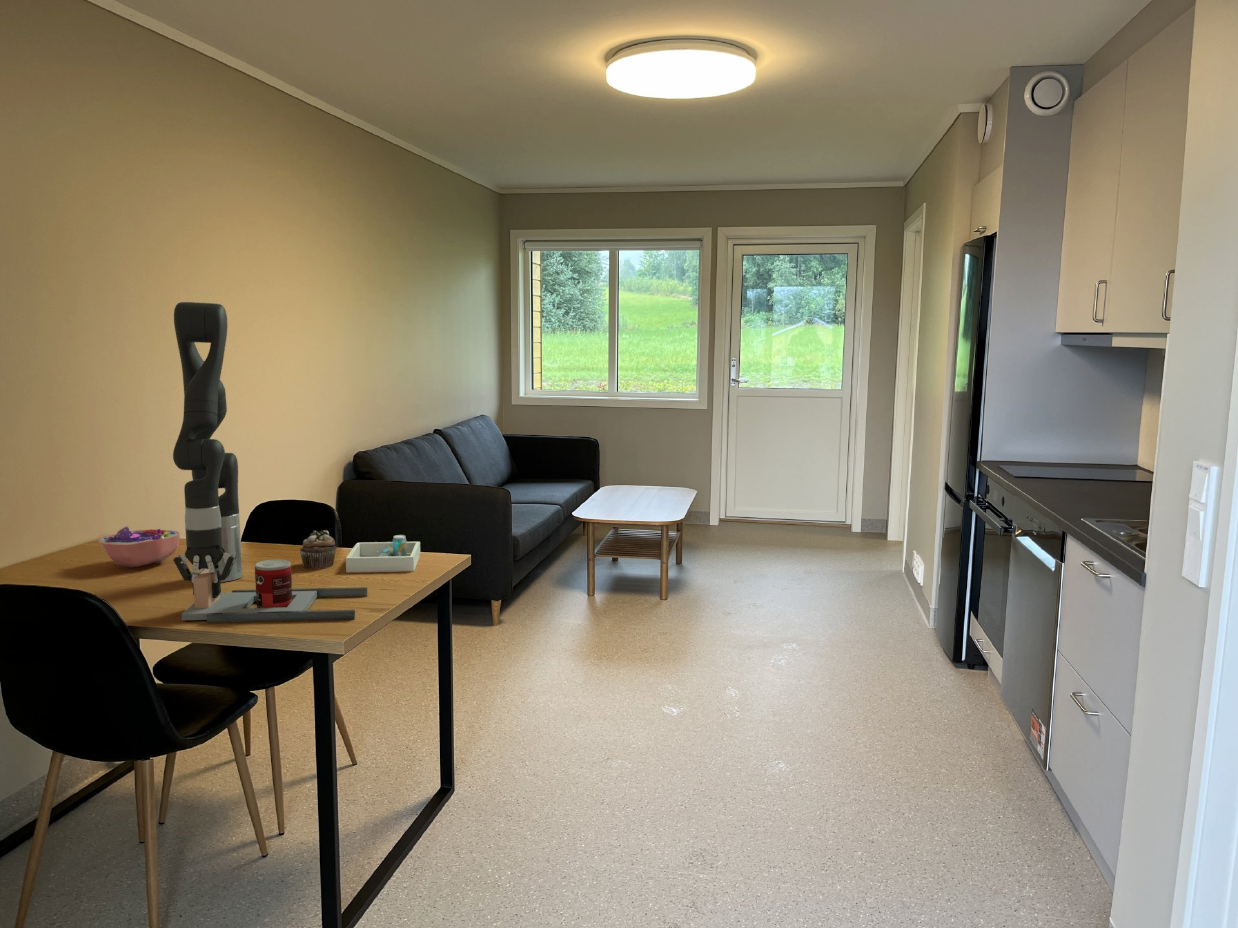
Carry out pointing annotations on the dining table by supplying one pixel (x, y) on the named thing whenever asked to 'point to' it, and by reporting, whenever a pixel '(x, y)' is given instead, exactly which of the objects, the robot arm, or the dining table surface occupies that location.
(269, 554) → the dining table surface
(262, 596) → the canned food
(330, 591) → the guide rails
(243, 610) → the grey piece
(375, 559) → the white shallow tray
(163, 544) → the cell model
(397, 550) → the beverage can
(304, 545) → the cupcake
